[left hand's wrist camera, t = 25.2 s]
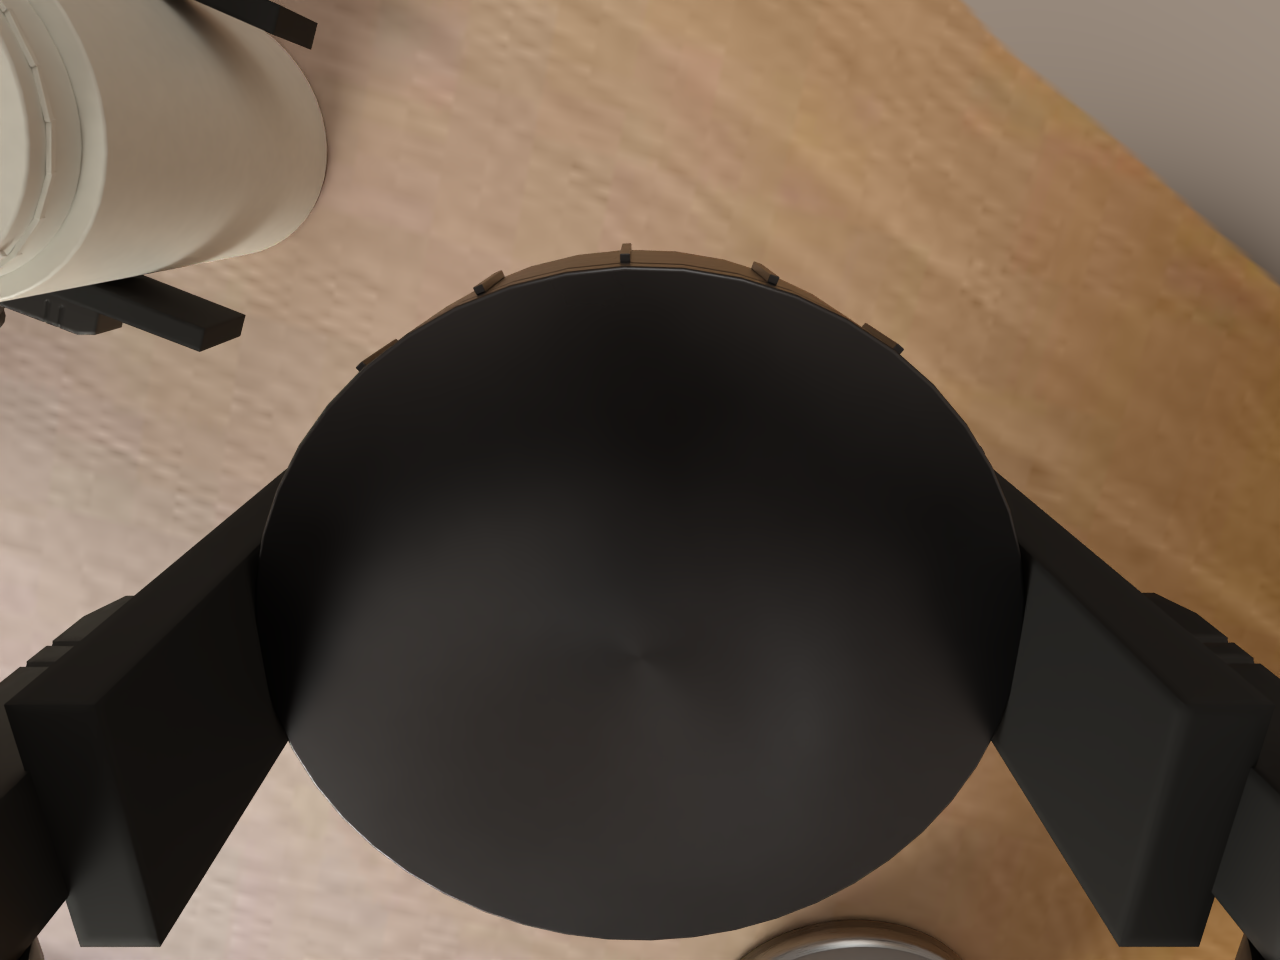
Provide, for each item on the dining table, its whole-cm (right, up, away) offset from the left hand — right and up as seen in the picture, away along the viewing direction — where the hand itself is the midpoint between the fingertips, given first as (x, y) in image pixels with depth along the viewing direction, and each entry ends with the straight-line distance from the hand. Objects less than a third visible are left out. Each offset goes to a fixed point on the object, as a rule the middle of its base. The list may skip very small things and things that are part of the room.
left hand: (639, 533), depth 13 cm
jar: (-16, +14, +17) cm, 27 cm away
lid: (0, -1, -3) cm, 3 cm away
